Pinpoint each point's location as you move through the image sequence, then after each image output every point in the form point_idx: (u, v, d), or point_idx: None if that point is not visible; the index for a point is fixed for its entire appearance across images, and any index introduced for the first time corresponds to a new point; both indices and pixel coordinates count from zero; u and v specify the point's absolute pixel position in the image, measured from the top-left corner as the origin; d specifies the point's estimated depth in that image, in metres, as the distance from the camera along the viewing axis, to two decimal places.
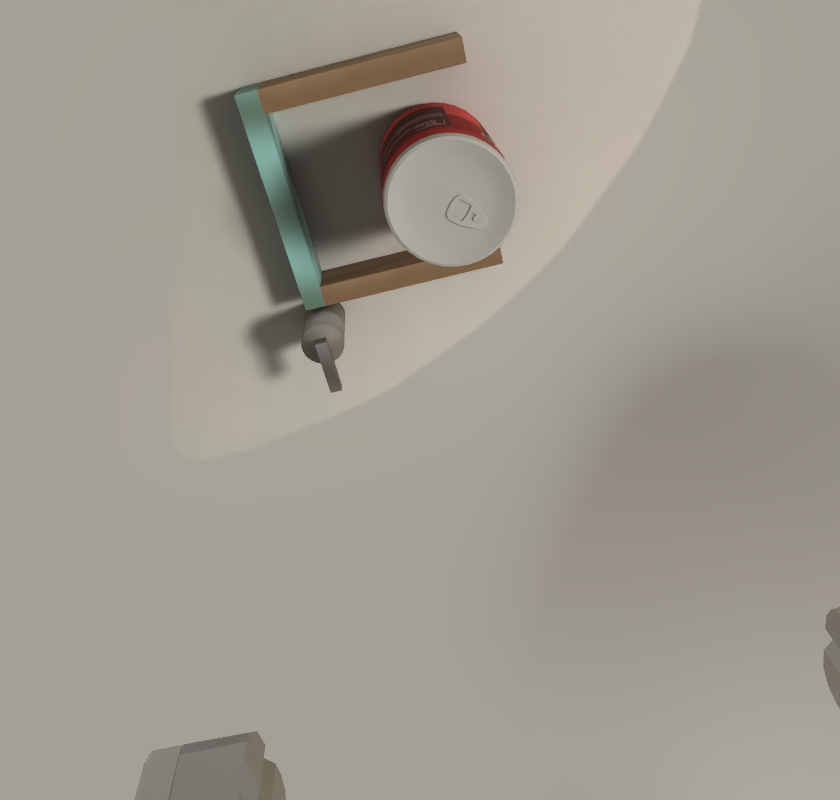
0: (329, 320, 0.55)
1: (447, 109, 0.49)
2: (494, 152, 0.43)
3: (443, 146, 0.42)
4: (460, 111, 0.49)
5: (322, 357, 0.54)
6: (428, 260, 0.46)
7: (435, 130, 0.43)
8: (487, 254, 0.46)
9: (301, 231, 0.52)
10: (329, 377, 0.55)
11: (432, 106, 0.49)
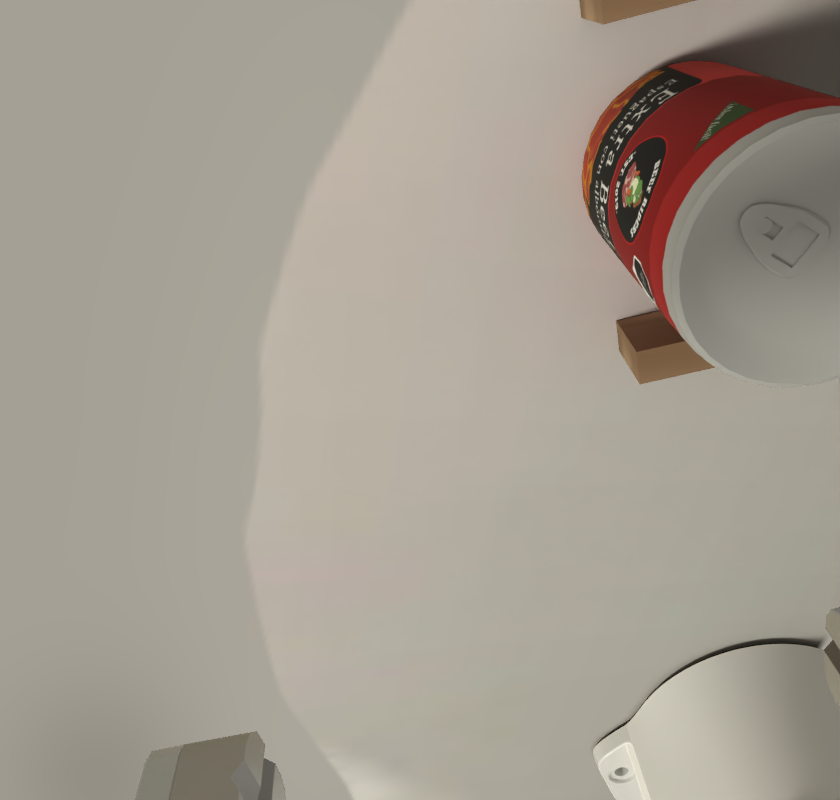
0: None
1: None
2: (710, 361, 0.22)
3: (805, 368, 0.22)
4: None
5: None
6: None
7: None
8: (760, 145, 0.19)
9: None
10: None
11: None
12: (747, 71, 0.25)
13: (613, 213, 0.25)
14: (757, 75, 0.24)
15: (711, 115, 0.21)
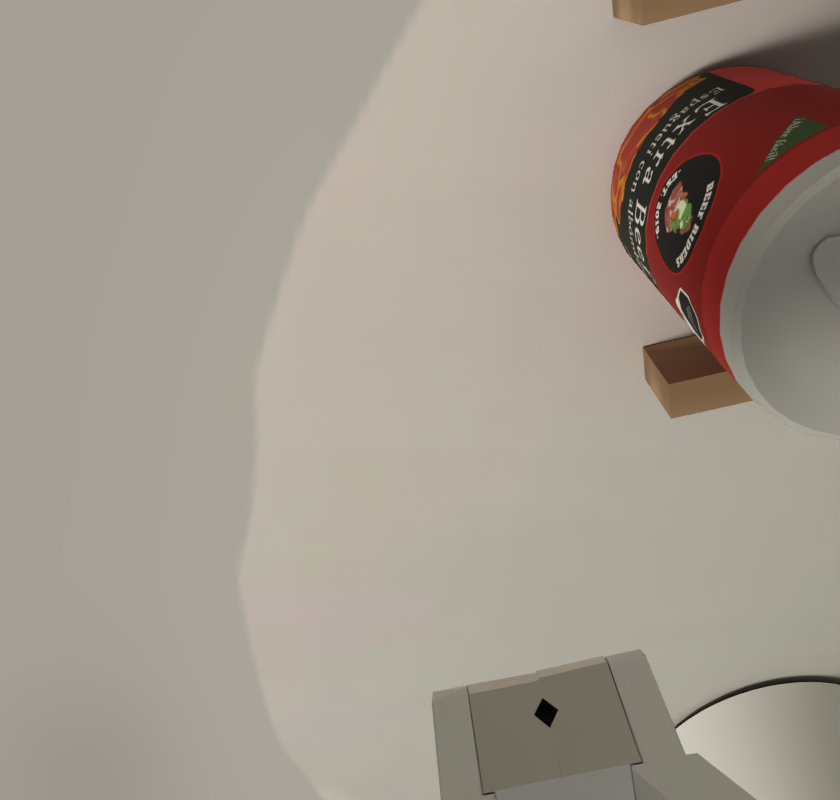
0: None
1: None
2: (770, 411, 0.19)
3: None
4: None
5: None
6: None
7: None
8: None
9: None
10: None
11: None
12: (803, 79, 0.22)
13: (652, 237, 0.22)
14: (817, 84, 0.21)
15: (774, 131, 0.19)
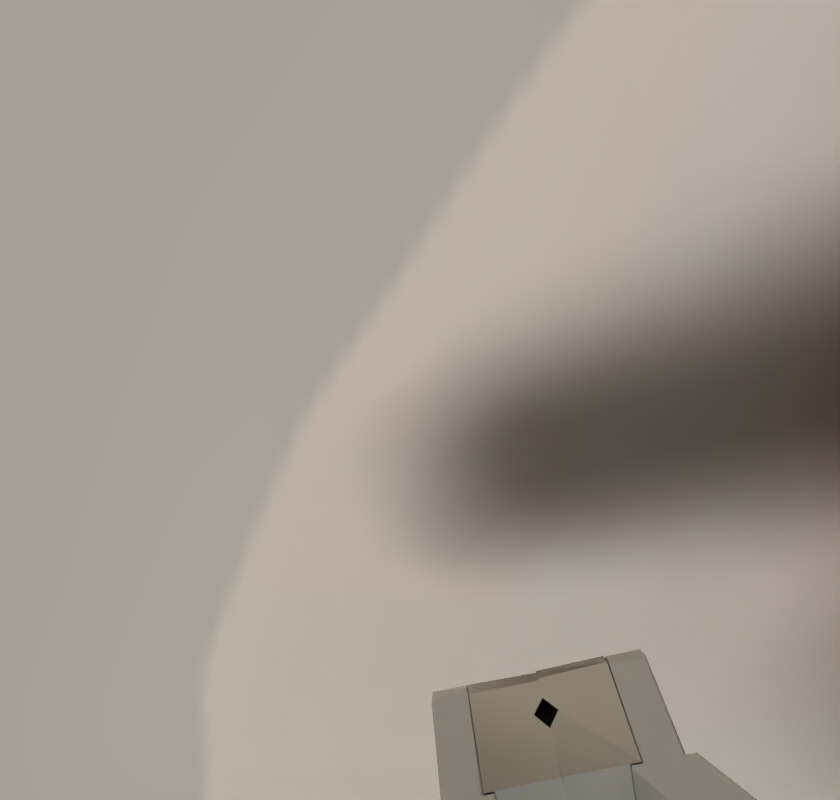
0: None
1: None
2: None
3: None
4: None
5: None
6: None
7: None
8: None
9: None
10: None
11: None
12: None
13: None
14: None
15: None
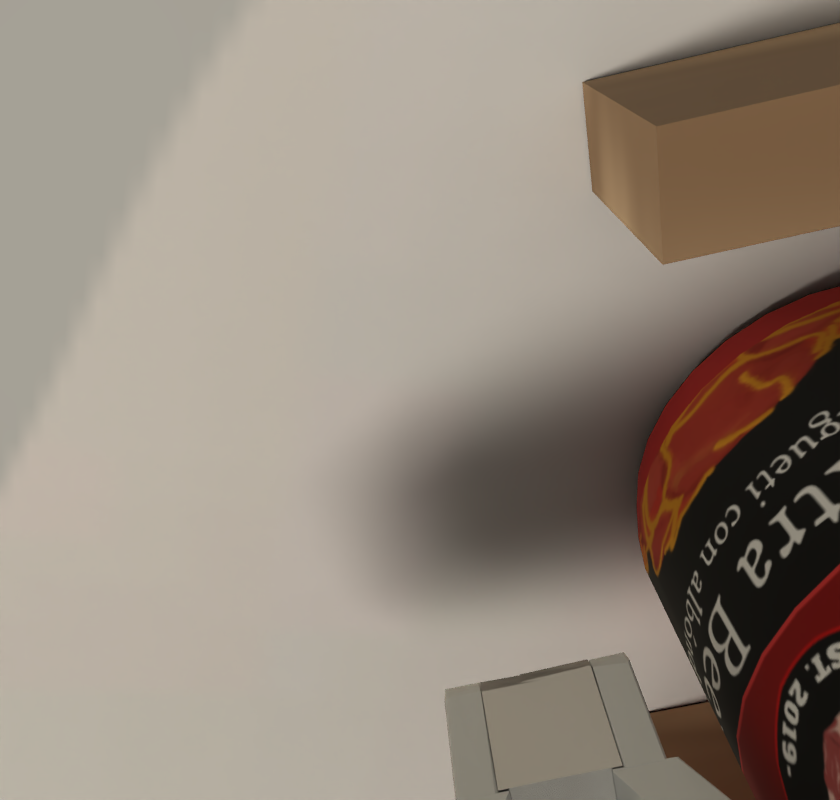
0: None
1: None
2: None
3: None
4: None
5: None
6: None
7: None
8: None
9: None
10: None
11: None
12: None
13: (769, 748, 0.09)
14: None
15: None
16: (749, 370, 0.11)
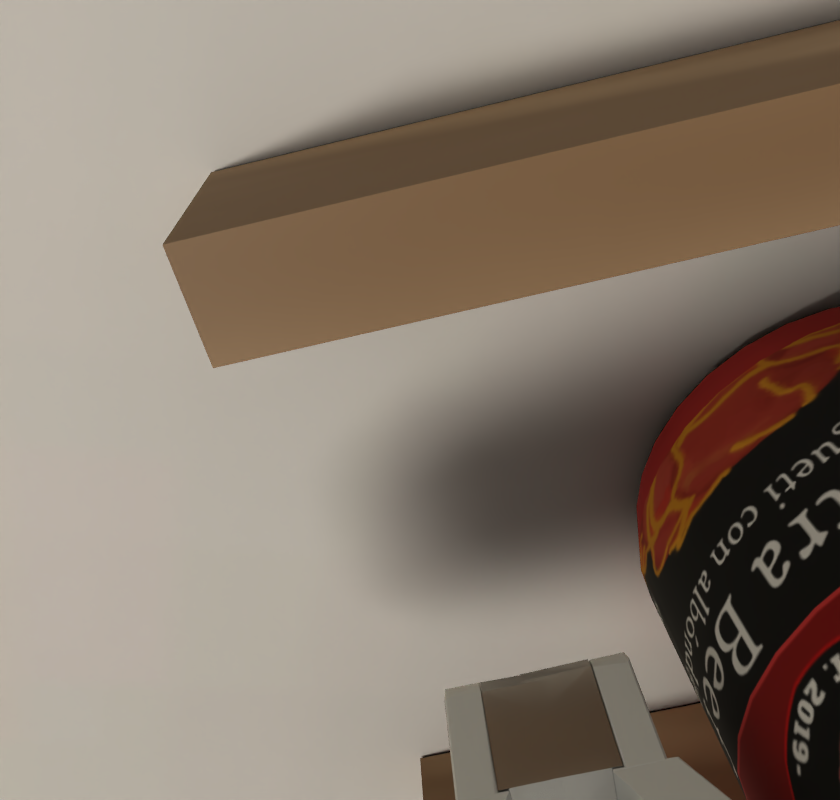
0: None
1: None
2: None
3: None
4: None
5: None
6: None
7: None
8: None
9: None
10: None
11: None
12: None
13: (777, 747, 0.09)
14: None
15: None
16: (769, 376, 0.11)
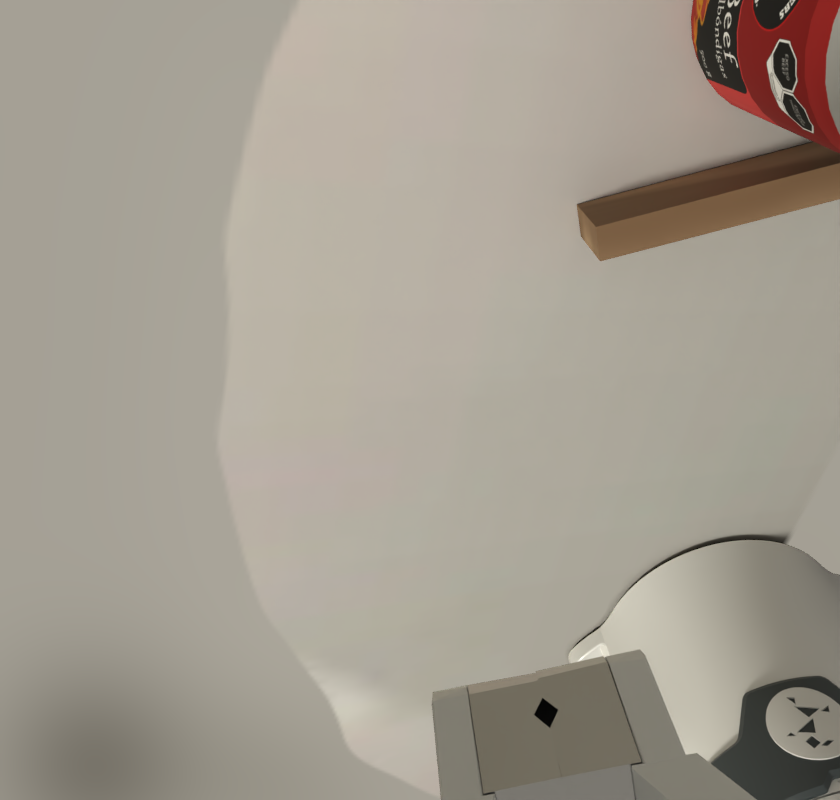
0: None
1: None
2: None
3: None
4: (746, 110, 0.29)
5: None
6: None
7: None
8: None
9: None
10: None
11: None
12: None
13: (750, 9, 0.25)
14: None
15: None
16: None
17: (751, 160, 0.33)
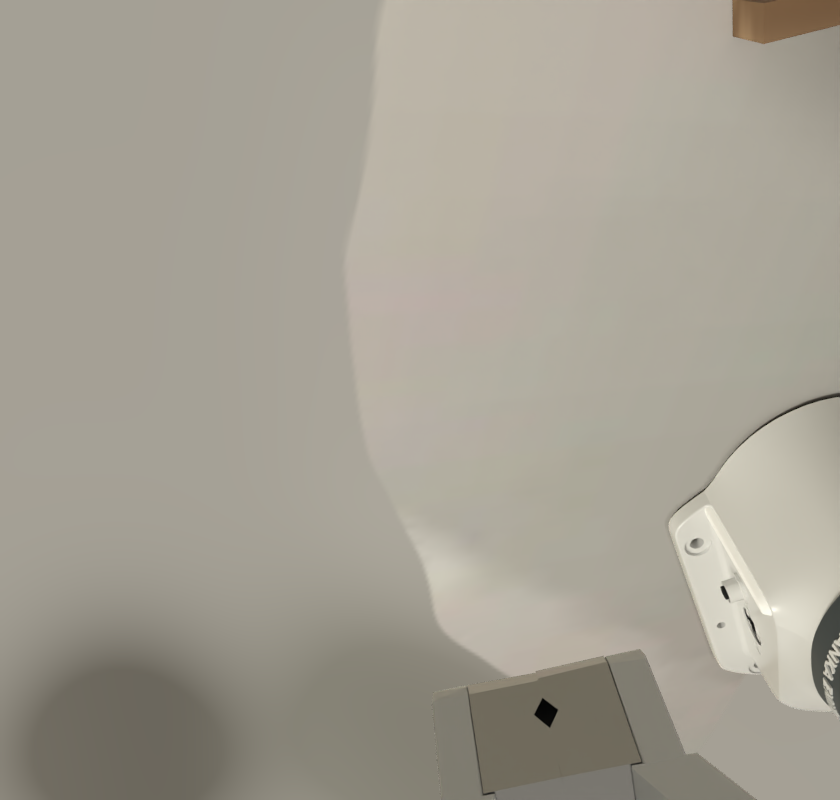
0: None
1: None
2: None
3: None
4: None
5: None
6: None
7: None
8: None
9: None
10: None
11: None
12: None
13: None
14: None
15: None
16: None
17: None
